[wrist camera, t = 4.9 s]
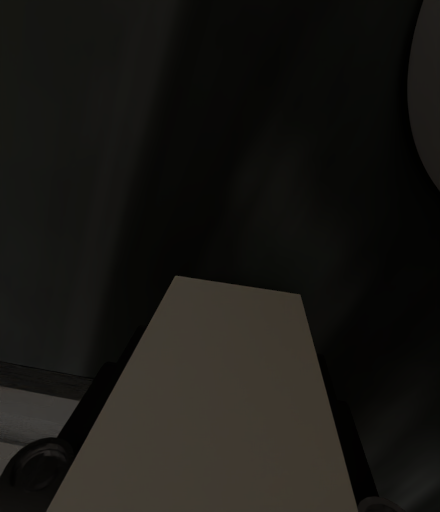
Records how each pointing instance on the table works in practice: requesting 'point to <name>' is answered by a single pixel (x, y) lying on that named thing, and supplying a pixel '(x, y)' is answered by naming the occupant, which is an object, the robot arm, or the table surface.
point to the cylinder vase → (426, 88)
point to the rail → (34, 405)
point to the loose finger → (215, 414)
